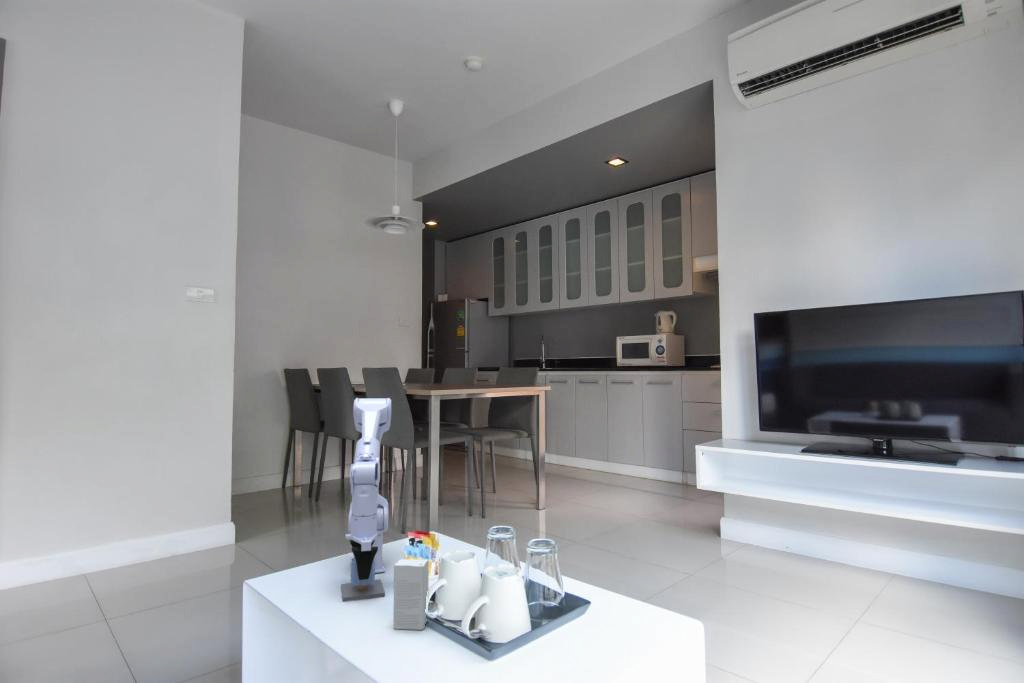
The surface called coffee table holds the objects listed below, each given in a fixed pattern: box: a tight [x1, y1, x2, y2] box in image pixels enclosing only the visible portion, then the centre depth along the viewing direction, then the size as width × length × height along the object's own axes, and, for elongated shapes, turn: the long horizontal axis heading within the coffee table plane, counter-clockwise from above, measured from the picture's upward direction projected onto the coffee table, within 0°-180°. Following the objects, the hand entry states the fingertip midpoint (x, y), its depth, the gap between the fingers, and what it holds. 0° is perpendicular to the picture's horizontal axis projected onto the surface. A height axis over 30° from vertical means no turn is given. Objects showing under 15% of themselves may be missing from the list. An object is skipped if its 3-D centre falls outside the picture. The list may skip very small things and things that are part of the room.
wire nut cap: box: [350, 557, 376, 585], centre depth 124 cm, size 5×5×5 cm
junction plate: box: [340, 579, 386, 602], centre depth 124 cm, size 9×9×4 cm
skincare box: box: [392, 558, 430, 631], centre depth 107 cm, size 6×4×12 cm
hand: (362, 575), depth 124 cm, fingers closed on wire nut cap, 5 cm apart
